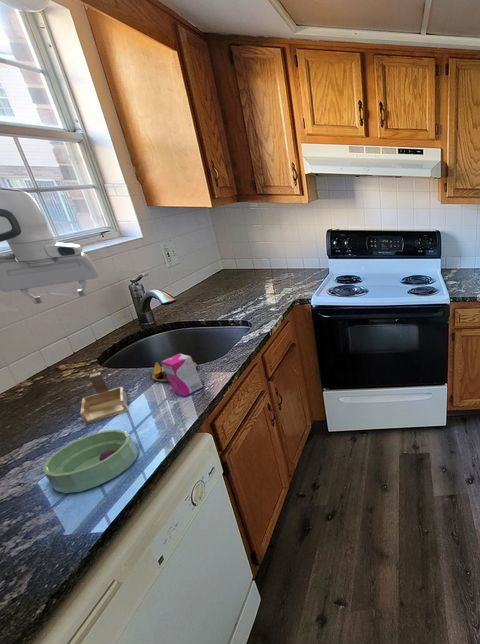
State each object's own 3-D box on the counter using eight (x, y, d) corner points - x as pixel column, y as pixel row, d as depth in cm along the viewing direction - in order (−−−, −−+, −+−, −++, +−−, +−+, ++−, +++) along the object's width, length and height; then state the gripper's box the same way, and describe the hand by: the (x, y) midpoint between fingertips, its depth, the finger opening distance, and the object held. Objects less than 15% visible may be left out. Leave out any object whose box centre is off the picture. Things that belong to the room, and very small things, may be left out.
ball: (114, 459, 83) (119, 462, 85) (113, 447, 84) (118, 450, 86) (97, 464, 82) (102, 467, 84) (96, 451, 83) (101, 454, 85)
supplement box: (192, 384, 116) (180, 352, 111) (204, 388, 114) (191, 356, 109) (173, 393, 112) (159, 360, 107) (185, 398, 109) (171, 364, 104)
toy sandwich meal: (197, 360, 131) (192, 349, 129) (198, 376, 121) (194, 364, 119) (154, 371, 124) (148, 359, 122) (152, 389, 114) (146, 376, 112)
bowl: (44, 505, 75) (30, 486, 72) (67, 461, 86) (56, 443, 84) (132, 477, 81) (122, 458, 79) (143, 439, 92) (134, 422, 90)
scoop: (88, 404, 107) (74, 378, 104) (127, 393, 113) (114, 367, 109) (86, 424, 99) (70, 396, 95) (128, 411, 104) (114, 384, 100)
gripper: (-24, 259, 91) (7, 311, 97) (85, 247, 103) (106, 293, 109) (-17, 255, 96) (11, 305, 102) (87, 244, 107) (107, 289, 113)
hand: (61, 299), depth 105 cm, fingers open, 8 cm apart
